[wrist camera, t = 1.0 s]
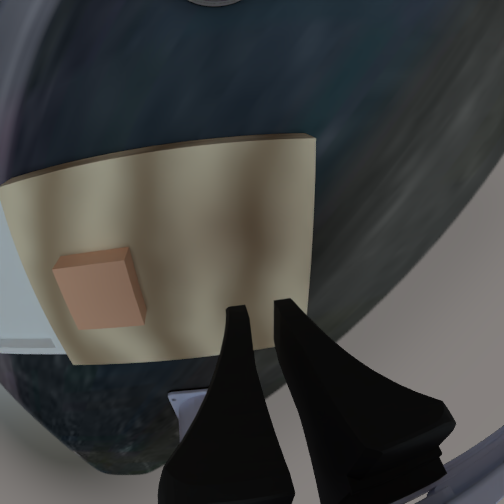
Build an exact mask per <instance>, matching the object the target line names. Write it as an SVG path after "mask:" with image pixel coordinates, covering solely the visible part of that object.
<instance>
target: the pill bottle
mask: <svg viewBox="0 0 504 504" xmlns="http://www.w3.org/2000/svg"><path fill="white" fill-rule="evenodd" d="M188 1H190V2H193V3H196V4H199V5H204V6H224V5H229V4H233V3H236V2H238V1H240V0H188Z"/></svg>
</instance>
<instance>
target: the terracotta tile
mask: <svg viewBox="0 0 504 504" xmlns="http://www.w3.org/2000/svg"><path fill="white" fill-rule="evenodd" d="M52 271H53V274H54V276H55V279H56V281H57V283H58V286H59V288H60V291H61V293H62V295H63V298H64V300H65V302H66V304H67V307H68V309H69V311H70V313H71V315H72V317H73V319H74V321H75V324H76V326H77V328H78V330H88V329H103V328H117V327H129V326H141V325H145V318H146V311H147V309H146V306H145V302H144V299H143V296H142V292H141V289H140V286H139V282H138V279H137V275H136V272H135V268H134V264H133V260H132V257H131V253H130V249H129V247H123V248H115V249H108V250H101V251H94V252H86V253H79V254H72V255H65V256H60V257H59V259H58V261H57V262H56V264H55V265H54V267H53V269H52Z"/></svg>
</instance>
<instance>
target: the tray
mask: <svg viewBox="0 0 504 504" xmlns="http://www.w3.org/2000/svg"><path fill="white" fill-rule="evenodd" d="M0 353H11V354H66V352H65V350H64V348H63V347H62V345H61V343H60V341H59V340H58V338H57V336H56V334H55V332H54V331H53V329H52V327H51V325H50V323H49V321H48V319H47V317H46V315H45V313H44V311H43V309H42V307H41V305H40V303H39V301H38V299H37V297H36V295H35V293H34V290H33V288H32V286H31V284H30V281H29V279H28V277H27V274H26V272H25V270H24V267H23V265H22V262H21V260H20V257H19V255H18V252H17V249H16V247H15V244H14V241H13V238H12V236H11V233H10V230H9V227H8V224H7V221H6V217H5V214H4V211H3V208H2V204H1V201H0Z"/></svg>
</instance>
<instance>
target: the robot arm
mask: <svg viewBox="0 0 504 504" xmlns="http://www.w3.org/2000/svg"><path fill="white" fill-rule="evenodd" d="M274 344H275V348H276V352H277V356H278V360H279V363H280V366H281V369H282V371H283V374H284V377H285V379H286V382H287V385H288V387H289V390H290V392H291V395H292V397H293V400H294V402H295V405H296V408H297V410H298V413H299V416H300V419H301V423H302V426H303V430H304V434H305V437H306V441H307V445H308V449H309V453H310V457H311V462H312V466H313V470H314V475H315V479H316V483H317V488H318V493H319V498H320V503H321V504H405V503H407V502H409V501H411V500H413V499H415V498H417V497H419V496H421V495H423V494H425V493H426V492H428V491H429V492H428V494H427V497H426V498H424V499H422V500H421V501H419V502H417V503H415V504H497V503H498V502H499V501H500V500H501V499H502V498H503V497H504V425H503V426H502V427H501V428H499V429H498V430H497V431H495V432H494V433H493V434H491V435H490V436H488V437H487V438H486V439H484V440H483V441H481V442H480V443H478V444H477V445H475V446H474V447H472V448H471V449H469V450H468V451H466V452H464V453H463V454H461V455H459V456H458V457H456V458H455V459H453V460H451V461H449V462H448V463H446V464H444V465H443V464H442V462H441V460H440V458H439V457H440V456H441V455H442V452H441V450H440V448H439V445H440V444H441V443H442V442H443V441H444V440H445V439H446V438H447V437H448V436H449V434H450V433H451V432H452V431H453V430H454V428H455V425H456V422H455V420H454V418H453V417H452V415H451V413H450V411H449V410H448V408H447V407H446V406H445V404H444V403H443V401H441V400H438V399H435V398H432V397H429V396H426V395H423V394H421V393H418V392H415V391H413V390H411V389H408V388H406V387H404V386H401V385H399V384H397V383H395V382H393V381H392V380H390V379H388V378H386V377H384V376H382V375H381V374H379V373H377V372H375V371H374V370H372V369H370V368H369V367H367V366H365V365H364V364H363V363H361V362H360V361H358V360H357V359H355V358H354V357H353V356H351V355H350V354H349V353H348V352H346V351H345V350H344V349H342V348H341V347H340V346H339V345H338V344H337V343H335V342H334V341H333V340H332V339H331V338H330V337H328V336H327V335H326V334H325V333H324V332H323V331H322V330H321V329H320V328H319V327H318V326H317V325H316V324H315V323H314V322H313V321H312V320H311V319H310V318H309V317H308V316H307V315H306V314H305V313H304V312H303V311H302V310H301V309H300V308H299V306H298V305H297V304H296V303H295V302H294V301H293V300H292V299H291V298H287V299H280V300H274ZM168 398H169V400H170V403H171V405H172V407H173V409H174V411H175V413H176V415H177V417H178V420H179V436H180V444H179V445H178V447H177V448H176V450H175V451H174V452H173V454H172V455H171V457H170V458H169V459H168V461H167V462H166V464H165V465H164V467H163V471H162V474H161V478H160V482H159V489H158V504H292V501H293V498H294V496H295V490H294V487H293V483H292V479H291V476H290V472H289V470H288V467H287V465H286V462H285V459H284V457H283V454H282V451H281V448H280V446H279V442H278V440H277V437H276V434H275V431H274V428H273V425H272V421H271V419H270V415H269V412H268V409H267V406H266V402H265V399H264V395H263V392H262V388H261V385H260V381H259V377H258V374H257V370H256V365H255V359H254V351H253V342H252V334H251V326H250V318H249V315H248V311H247V308H246V305H238V306H230V307H228V308H227V309H226V324H225V331H224V337H223V342H222V346H221V351H220V355H219V358H218V361H217V365H216V368H215V371H214V374H213V377H212V380H211V383H210V385H209V388H208V389H198V390H188V391H176V392H170V393H168Z"/></svg>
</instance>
